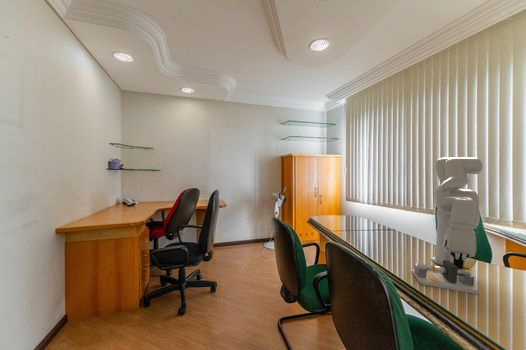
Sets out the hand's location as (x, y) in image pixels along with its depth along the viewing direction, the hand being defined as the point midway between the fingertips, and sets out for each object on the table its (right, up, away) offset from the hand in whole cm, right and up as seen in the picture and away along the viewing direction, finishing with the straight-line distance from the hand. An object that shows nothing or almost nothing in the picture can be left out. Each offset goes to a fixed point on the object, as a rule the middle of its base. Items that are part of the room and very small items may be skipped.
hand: (457, 267), depth 96 cm
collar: (-3, -5, +1) cm, 6 cm away
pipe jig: (-6, -7, +2) cm, 9 cm away
